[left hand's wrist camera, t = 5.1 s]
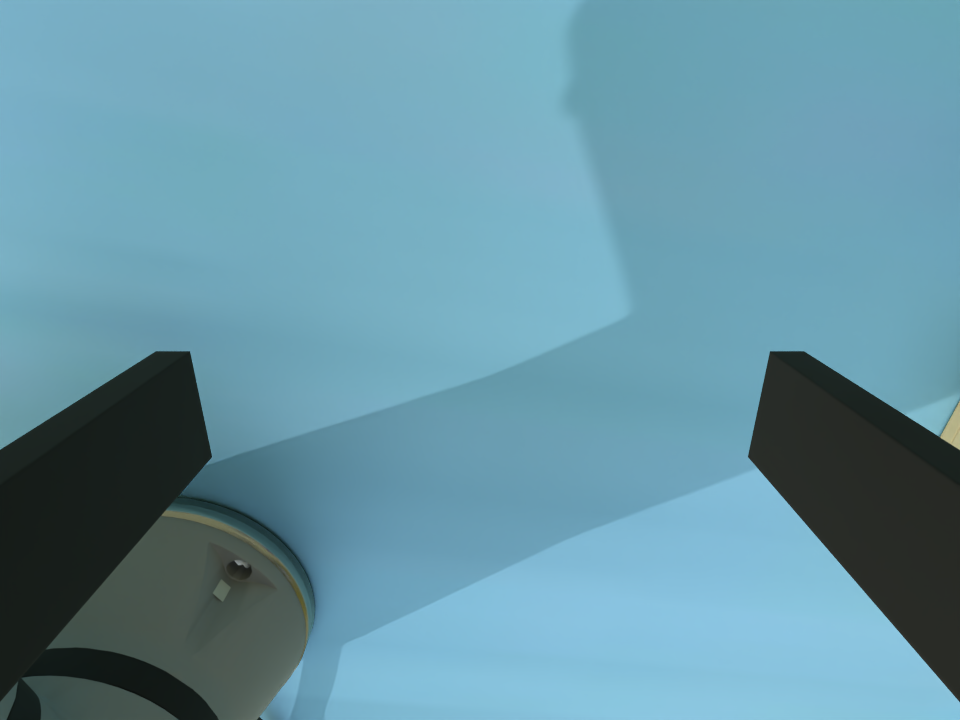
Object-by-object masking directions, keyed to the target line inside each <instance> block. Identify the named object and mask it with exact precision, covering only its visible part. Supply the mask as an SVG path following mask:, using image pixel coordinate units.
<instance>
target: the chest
mask: <svg viewBox="0 0 960 720" xmlns="http://www.w3.org/2000/svg"><path fill="white" fill-rule="evenodd" d="M940 438H942V439H943V440H945V441H946V442H948V443H950V444H951V445H953V446H954V447H956V448H958V449H959V450H960V401H959V403H958V405H957V407H956V409H955V411H954V412H953V414H952V416H951V418H950V420H949V422H948V423H947V425H946V427H945V429H944V431H943V433H942V434H941V436H940Z"/></svg>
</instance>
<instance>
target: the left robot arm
mask: <svg viewBox="0 0 960 720" xmlns="http://www.w3.org/2000/svg"><path fill="white" fill-rule="evenodd" d="M211 457H212V455H211V450H210V445H209V440H208V436H207V431H206V426H205V421H204V417H203V412H202V407H201V402H200V397H199V393H198V388H197V383H196V378H195V374H194V369H193V364H192V359H191V354H190V351H156V352H154V353H153V354H151V355H150V356H148V357H146V358H145V359H143V360H142V361H140V362H139V363H137V364H135V365H134V366H132V367H131V368H129V369H127V370H126V371H124V372H123V373H121V374H120V375H118V376H116V377H115V378H113V379H112V380H110V381H108V382H107V383H105V384H104V385H102V386H101V387H99V388H97V389H96V390H94V391H93V392H91V393H90V394H88V395H86V396H85V397H83V398H82V399H80V400H78V401H77V402H75V403H74V404H72V405H71V406H69V407H67V408H66V409H64V410H63V411H61V412H59V413H58V414H56V415H55V416H53V417H52V418H50V419H48V420H47V421H45V422H44V423H42V424H40V425H39V426H37V427H36V428H34V429H33V430H31V431H29V432H28V433H26V434H25V435H23V436H21V437H20V438H18V439H17V440H15V441H14V442H12V443H10V444H9V445H7V446H6V447H4V448H2V449H1V450H0V720H262V719H261V718H260V717H259V716H260V715H261V714H262V713H263V711H264V710H265V709H266V707H267V706H268V705H269V704H270V702H271V701H272V700H273V698H274V697H275V696H276V694H277V693H278V692H279V690H280V689H281V688H282V686H283V685H284V684H285V683H286V682H287V680H288V679H289V678H290V676H291V675H292V673H293V672H294V670H295V669H296V667H297V666H298V664H299V662H300V660H301V658H302V656H303V653H304V650H305V648H306V645H307V642H308V639H309V636H310V633H311V630H312V627H313V623H314V616H315V604H314V596H313V591H312V588H311V585H310V582H309V580H308V578H307V575H306V573H305V571H304V570H303V568H302V566H301V564H300V563H299V562H298V560H297V559H296V557H295V556H294V555H293V554H292V552H291V551H290V550H289V549H288V548H287V547H286V546H285V545H284V544H283V543H282V542H281V541H280V540H279V539H278V538H277V537H276V536H274V535H273V534H272V533H271V532H269V531H268V530H267V529H265V528H264V527H262V526H261V525H259V524H258V523H256V522H254V521H253V520H251V519H249V518H247V517H246V516H243V515H241V514H239V513H237V512H235V511H233V510H230V509H227V508H225V507H222V506H219V505H215V504H212V503H209V502H204V501H199V500H195V499H187V498H178V496H179V494H180V493H181V492H182V491H183V490H184V489H185V488H186V486H187V485H188V484H189V483H190V482H191V481H192V479H193V478H194V477H195V476H196V475H197V474H198V472H199V471H200V470H201V469H202V468H203V467H204V466H205V464H206V463H207V462H208V461H209V460H210V459H211ZM748 457H749V459H750V460H751V461H752V462H753V463H754V464H755V466H756V467H757V468H758V469H759V470H760V471H761V472H762V474H763V475H764V476H765V477H766V478H767V479H768V481H769V482H770V483H771V484H772V485H773V486H774V488H775V489H776V490H777V491H778V492H779V493H780V494H781V496H782V497H783V498H784V499H785V500H786V501H787V503H788V504H789V505H790V506H791V507H792V508H793V510H794V511H795V512H796V513H797V514H798V515H799V516H800V518H801V519H802V520H803V521H804V522H805V523H806V525H807V526H808V527H809V528H810V529H811V530H812V531H813V533H814V534H815V535H816V536H817V537H818V538H819V540H820V541H821V542H822V543H823V544H824V545H825V547H826V548H827V549H828V550H829V551H830V552H831V553H832V555H833V556H834V557H835V558H836V559H837V560H838V562H839V563H840V564H841V565H842V566H843V567H844V569H845V570H846V571H847V572H848V573H849V574H850V575H851V577H852V578H853V579H854V580H855V581H856V582H857V584H858V585H859V586H860V587H861V588H862V589H863V591H864V592H865V593H866V594H867V595H868V596H869V597H870V599H871V600H872V601H873V602H874V603H875V604H876V606H877V607H878V608H879V609H880V610H881V611H882V612H883V614H884V615H885V616H886V617H887V618H888V619H889V621H890V622H891V623H892V624H893V625H894V626H895V628H896V629H897V630H898V631H899V632H900V633H901V634H902V636H903V637H904V638H905V639H906V640H907V641H908V643H909V644H910V645H911V646H912V647H913V648H914V650H915V651H916V652H917V653H918V654H919V655H920V656H921V658H922V659H923V660H924V661H925V662H926V663H927V665H928V666H929V667H930V668H931V669H932V670H933V672H934V673H935V674H936V675H937V676H938V677H939V678H940V680H941V681H942V682H943V683H944V684H945V685H946V687H947V688H948V689H949V690H950V691H951V692H952V694H953V695H954V696H955V697H956V698H957V699H958V700H959V702H960V450H959V449H958V448H956V447H954V446H953V445H951V444H950V443H948V442H946V441H945V440H943V439H942V438H940V437H939V436H937V435H935V434H934V433H932V432H931V431H929V430H927V429H926V428H924V427H923V426H921V425H920V424H918V423H916V422H915V421H913V420H912V419H910V418H908V417H907V416H905V415H904V414H902V413H901V412H899V411H897V410H896V409H894V408H893V407H891V406H889V405H888V404H886V403H885V402H883V401H882V400H880V399H878V398H877V397H875V396H874V395H872V394H870V393H869V392H867V391H866V390H864V389H863V388H861V387H859V386H858V385H856V384H855V383H853V382H852V381H850V380H848V379H847V378H845V377H844V376H842V375H840V374H839V373H837V372H836V371H834V370H833V369H831V368H829V367H828V366H826V365H825V364H823V363H821V362H820V361H818V360H817V359H815V358H814V357H812V356H810V355H809V354H807V353H806V352H804V351H770V354H769V359H768V364H767V369H766V374H765V378H764V383H763V388H762V393H761V397H760V402H759V407H758V412H757V417H756V421H755V426H754V431H753V436H752V440H751V445H750V450H749V455H748Z"/></svg>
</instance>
